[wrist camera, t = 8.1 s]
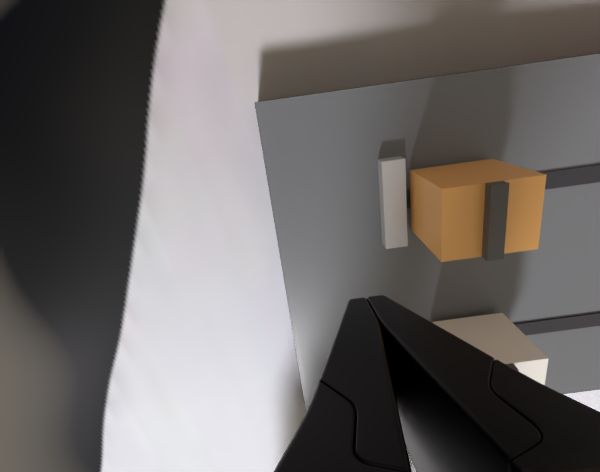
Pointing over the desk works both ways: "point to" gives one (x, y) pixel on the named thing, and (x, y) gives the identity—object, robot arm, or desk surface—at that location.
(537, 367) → the white fader
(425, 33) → the desk surface
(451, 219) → the block
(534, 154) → the console
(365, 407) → the robot arm
